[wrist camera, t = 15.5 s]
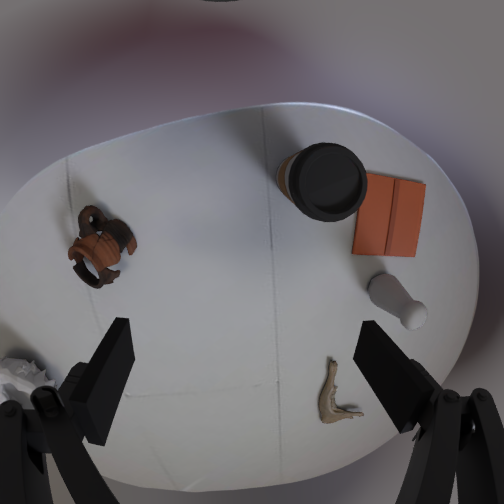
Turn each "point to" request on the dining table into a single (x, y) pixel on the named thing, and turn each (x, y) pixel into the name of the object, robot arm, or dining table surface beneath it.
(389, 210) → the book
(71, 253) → the pottery mug
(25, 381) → the bowl
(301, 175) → the coffee cup
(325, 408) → the curved driftwood piece
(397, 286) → the salt shaker
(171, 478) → the dining table surface
